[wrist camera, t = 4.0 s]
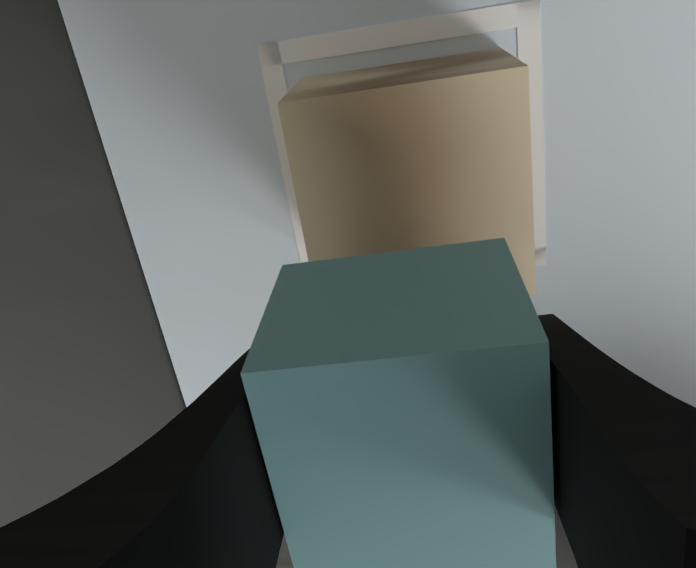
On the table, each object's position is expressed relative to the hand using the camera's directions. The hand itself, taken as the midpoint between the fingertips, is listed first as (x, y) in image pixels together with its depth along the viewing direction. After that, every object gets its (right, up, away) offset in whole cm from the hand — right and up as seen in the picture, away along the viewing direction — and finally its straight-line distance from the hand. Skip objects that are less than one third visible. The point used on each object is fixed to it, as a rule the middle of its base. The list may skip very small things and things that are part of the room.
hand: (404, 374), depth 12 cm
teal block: (0, 0, +1) cm, 2 cm away
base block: (+1, +5, +6) cm, 8 cm away
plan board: (+1, +4, +8) cm, 9 cm away
